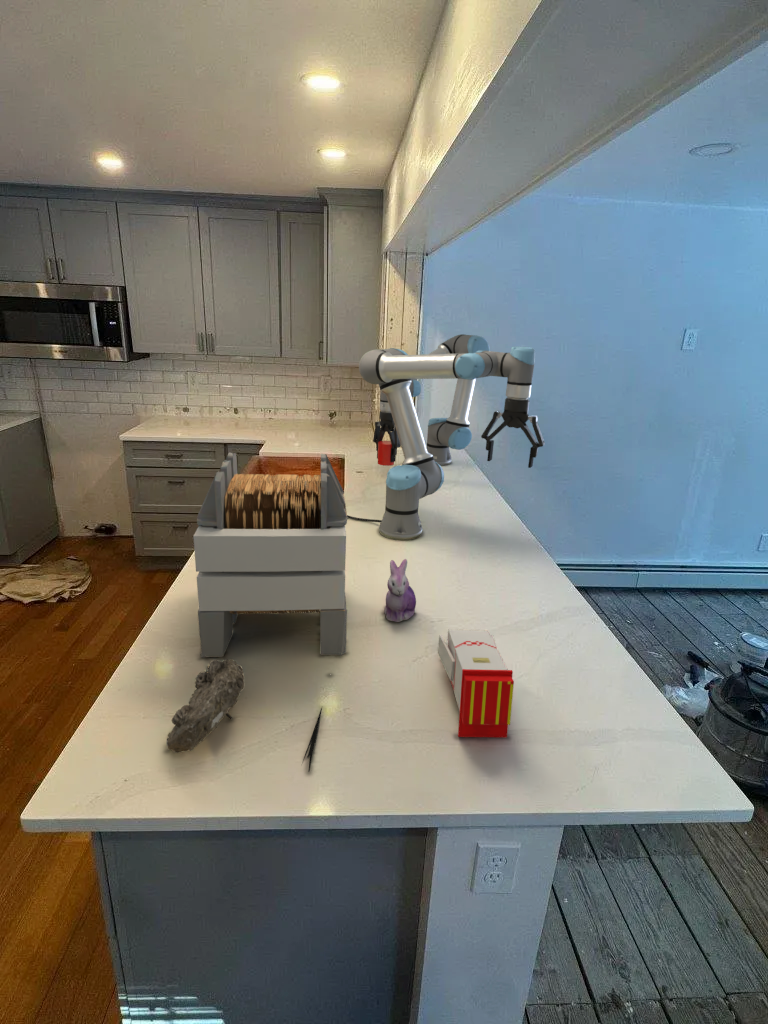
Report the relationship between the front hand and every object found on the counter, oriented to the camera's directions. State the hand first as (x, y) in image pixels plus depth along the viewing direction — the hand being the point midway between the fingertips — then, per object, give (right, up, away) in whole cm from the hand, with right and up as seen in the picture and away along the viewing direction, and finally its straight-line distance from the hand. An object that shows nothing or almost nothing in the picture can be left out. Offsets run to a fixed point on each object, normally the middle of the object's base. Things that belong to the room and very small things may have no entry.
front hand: (509, 463), depth 185 cm
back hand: (-40, +9, +79) cm, 89 cm away
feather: (-53, -56, -77) cm, 109 cm away
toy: (-23, -53, -67) cm, 89 cm away
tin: (-40, +7, +80) cm, 90 cm away
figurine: (-37, -42, -38) cm, 68 cm away
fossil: (-74, -55, -77) cm, 120 cm away
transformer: (-68, -43, -43) cm, 91 cm away
